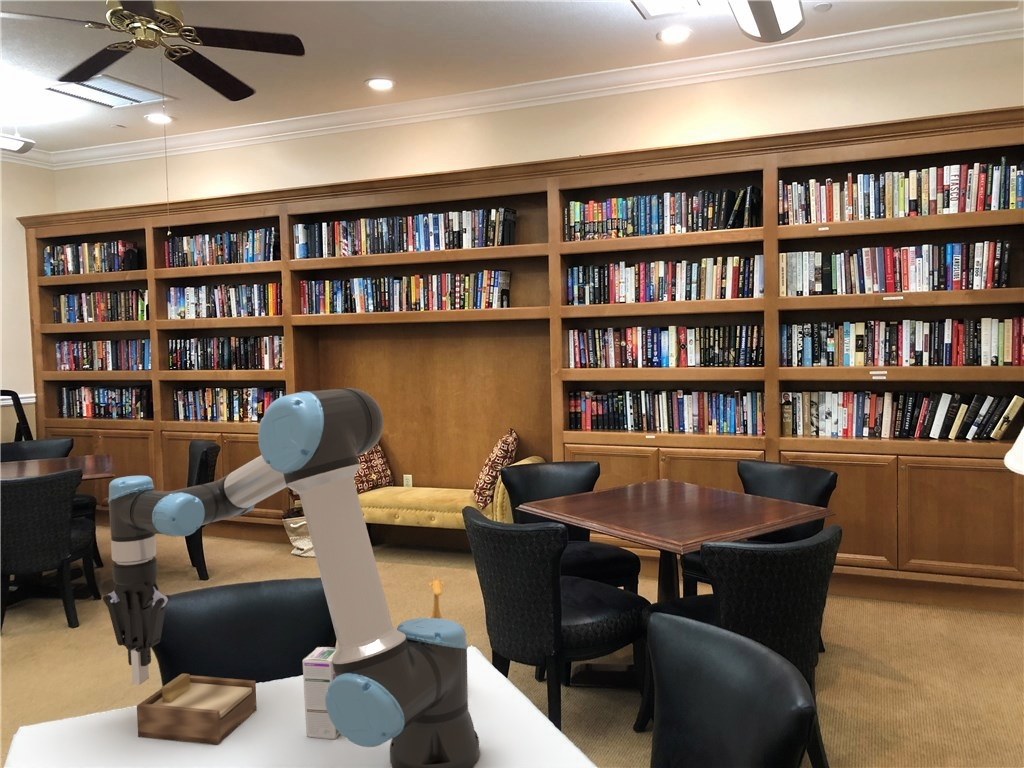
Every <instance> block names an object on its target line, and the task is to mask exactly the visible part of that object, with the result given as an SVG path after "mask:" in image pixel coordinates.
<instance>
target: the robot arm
mask: <svg viewBox="0 0 1024 768" xmlns="http://www.w3.org/2000/svg"><path fill="white" fill-rule="evenodd" d="M263 414H264V415H263V417H262V418H261V419H260V422H259V425H258V426H259V427H258V433H257V436H258V437H257V438H258V440H257V442H258V448H259V451H260V455H259V456H258V457H255V458H254V459H253V460H250V461H249V462H247V463H245V464H243V465H242V466H240V467H238V468H237V469H235V470H233V471H232V472H230V473H229V474H227V475H225V476H223V477H222V478H220V479H217V480H215V481H212V482H208V483H203V484H198V485H193V486H189V487H188V486H187V487H183V488H180V489H176V490H175V489H174V490H170V491H169V490H168V491H167V490H165V491H163V490H156V489H155V486H154V483H153V479H152V478H151V477H150V476H149V475H130V476H129V475H127V476H122V477H117V478H114V479H113V480H112V481H110V482H109V485H108V500H107V503H108V511H109V529H110V538H111V539H110V545H111V547H110V548H111V560H112V561H113V563H112V580H113V583H114V587H113V591H112V592H110V593H108V594H106V595H104V596H103V597H102V600H103V602H104V604H105V606H106V607H107V609H108V613H109V617H110V620H111V624H112V628H113V631H114V636H115V639H116V642H117V645H118V646H123V647H125V648H126V649H127V657H128V658H127V659H128V665H129V666H131V678H132V679H131V680H132V685H134V686H135V685H136V686H141V685H142V684H144V683H145V682H147V681H148V680H149V679H150V675H149V674H150V670H149V669H150V668H149V665H150V664H151V663H152V652H151V651H152V650H151V648H152V647H154V646H155V645H157V644H159V643H160V642H161V640H162V631H163V628H164V627H163V626H164V621H165V614H166V610H167V609H166V608H167V606H168V604H169V602H170V601H171V596H170V595H169V594H165V595H164V594H162V593H161V592H160V591H159V586H158V584H157V582H156V581H157V577H158V559H157V558H156V555H157V544H156V543H157V541H156V540H157V539H156V534H161V535H165V536H167V537H168V536H170V537H188V536H191V535H193V534H194V533H196V531H197V530H199V529H200V528H201V526H205V525H207V524H211V523H215V522H218V521H222V520H227V519H230V518H237V517H240V516H242V515H244V514H246V513H249V512H252V510H254V509H255V507H256V505H257V504H258V503H260V502H261V501H263V500H265V499H267V498H269V497H270V496H273V495H274V494H276V493H278V492H280V491H281V490H283V489H285V488H289V489H290V490H292V491H294V492H295V493H297V494H298V495H299V499H300V502H301V506H302V510H303V515H304V518H305V522H306V526H307V530H308V532H309V533H308V534H309V538H310V541H311V544H312V549H313V552H314V556H315V560H316V563H317V568H318V572H319V576H320V579H321V583H322V587H323V591H324V595H325V599H326V604H327V607H328V610H329V611H328V612H329V615H330V618H331V622H332V625H333V629H334V634H335V638H336V642H337V644H338V645H337V647H336V648H337V650H336V652H335V654H334V655H333V657H332V663H333V667H334V672H335V676H336V677H335V679H334V680H333V681H332V682H331V684H330V685H329V687H328V692H327V693H326V697H325V702H326V709H327V712H328V715H329V717H330V719H331V722H332V723H333V725H334V726H335V728H336V729H337V730H338V731H339V733H340V734H339V735H341V736H342V737H345V738H346V739H347V740H348V741H349V742H351V743H352V744H354V745H357V746H360V747H363V748H375V747H379V746H381V745H383V744H385V743H386V742H387V741H388V742H389V740H391V741H390V745H389V763H390V765H391V767H392V768H472V767H473V766H475V764H476V763H477V762H478V760H479V758H480V739H479V736H478V733H477V732H476V730H475V726H474V722H473V719H472V717H471V714H470V711H469V710H470V709H469V701H468V698H469V695H468V694H469V693H468V692H469V691H468V689H469V687H468V648H469V647H468V644H467V635H466V634H467V633H466V630H465V628H464V627H463V626H462V625H461V624H460V623H458V622H456V621H454V620H450V619H445V618H442V619H440V618H428V617H419V618H411V619H408V620H405V621H402V622H400V623H399V624H398V625H397V626H396V628H394V626H393V621H392V618H391V613H390V610H389V608H388V607H389V606H388V604H387V599H386V596H385V592H384V589H383V588H384V587H383V585H382V580H381V577H380V573H379V568H378V566H377V562H376V558H375V554H374V550H373V546H372V543H371V539H370V536H369V532H368V529H367V527H368V526H367V524H366V521H365V516H364V513H363V510H362V505H361V502H360V498H359V494H358V491H357V486H356V483H355V476H356V474H357V472H358V470H359V469H360V467H361V463H360V459H359V457H358V456H361V455H363V454H365V453H367V452H369V451H371V450H372V449H373V448H374V447H375V446H376V445H377V444H378V442H379V441H380V439H381V437H382V435H383V431H384V421H385V420H384V415H383V411H382V408H381V406H380V405H379V404H378V402H377V401H376V400H375V398H374V397H372V395H370V394H369V393H367V392H365V391H363V390H361V389H359V388H358V389H357V388H353V387H341V388H339V387H338V388H336V389H335V388H333V389H321V390H308V391H306V390H305V391H304V390H303V391H299V392H295V393H291V394H286V395H283V396H280V397H279V398H277V399H275V400H273V402H271V403H270V404H269V406H268V407H267V408H266V410H265V411H264V413H263Z"/></svg>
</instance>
